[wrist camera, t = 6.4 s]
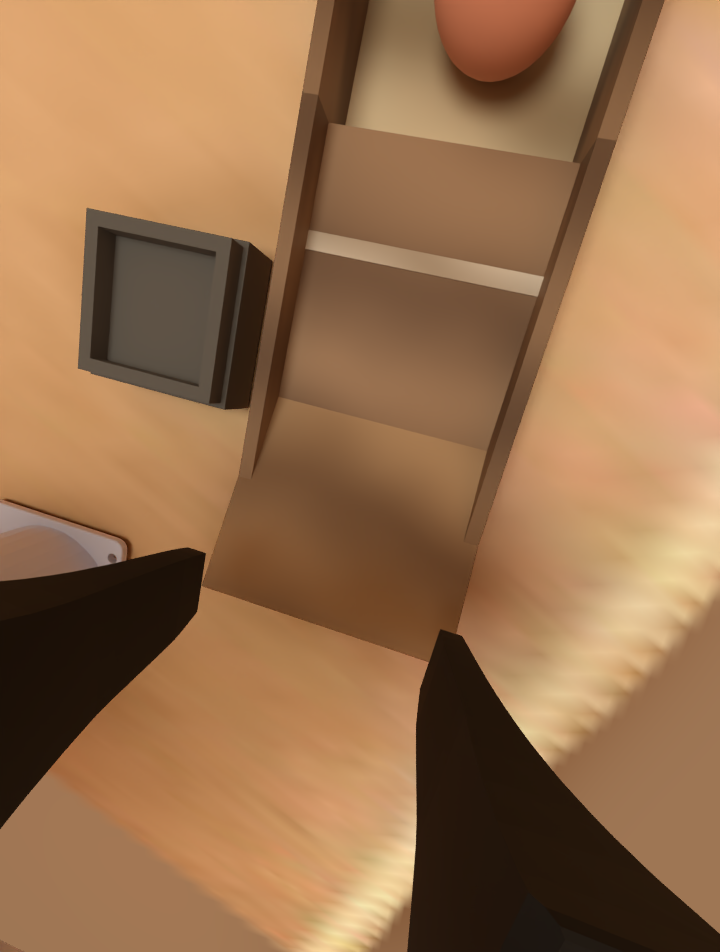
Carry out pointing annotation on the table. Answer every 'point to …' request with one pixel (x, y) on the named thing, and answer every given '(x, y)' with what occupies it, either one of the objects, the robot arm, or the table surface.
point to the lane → (413, 308)
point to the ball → (498, 33)
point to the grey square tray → (171, 309)
